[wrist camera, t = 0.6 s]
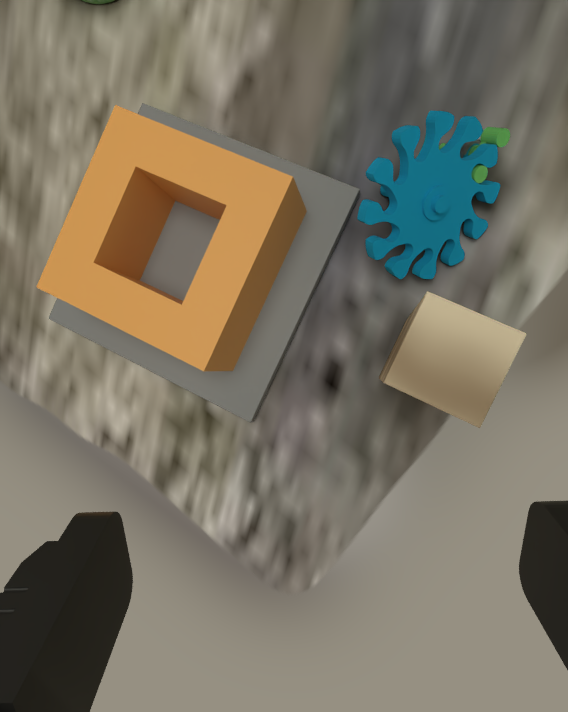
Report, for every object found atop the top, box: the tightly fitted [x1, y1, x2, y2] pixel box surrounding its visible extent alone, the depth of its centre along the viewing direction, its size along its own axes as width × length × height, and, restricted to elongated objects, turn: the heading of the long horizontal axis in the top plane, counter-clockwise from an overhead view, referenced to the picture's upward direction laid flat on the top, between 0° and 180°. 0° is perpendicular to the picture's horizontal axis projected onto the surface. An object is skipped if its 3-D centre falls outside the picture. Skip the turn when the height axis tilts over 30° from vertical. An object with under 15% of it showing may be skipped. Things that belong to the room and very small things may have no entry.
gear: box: [357, 111, 510, 279], centre depth 30 cm, size 11×6×10 cm
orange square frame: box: [37, 103, 360, 422], centre depth 32 cm, size 18×18×7 cm
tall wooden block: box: [379, 291, 526, 428], centre depth 26 cm, size 4×4×12 cm
